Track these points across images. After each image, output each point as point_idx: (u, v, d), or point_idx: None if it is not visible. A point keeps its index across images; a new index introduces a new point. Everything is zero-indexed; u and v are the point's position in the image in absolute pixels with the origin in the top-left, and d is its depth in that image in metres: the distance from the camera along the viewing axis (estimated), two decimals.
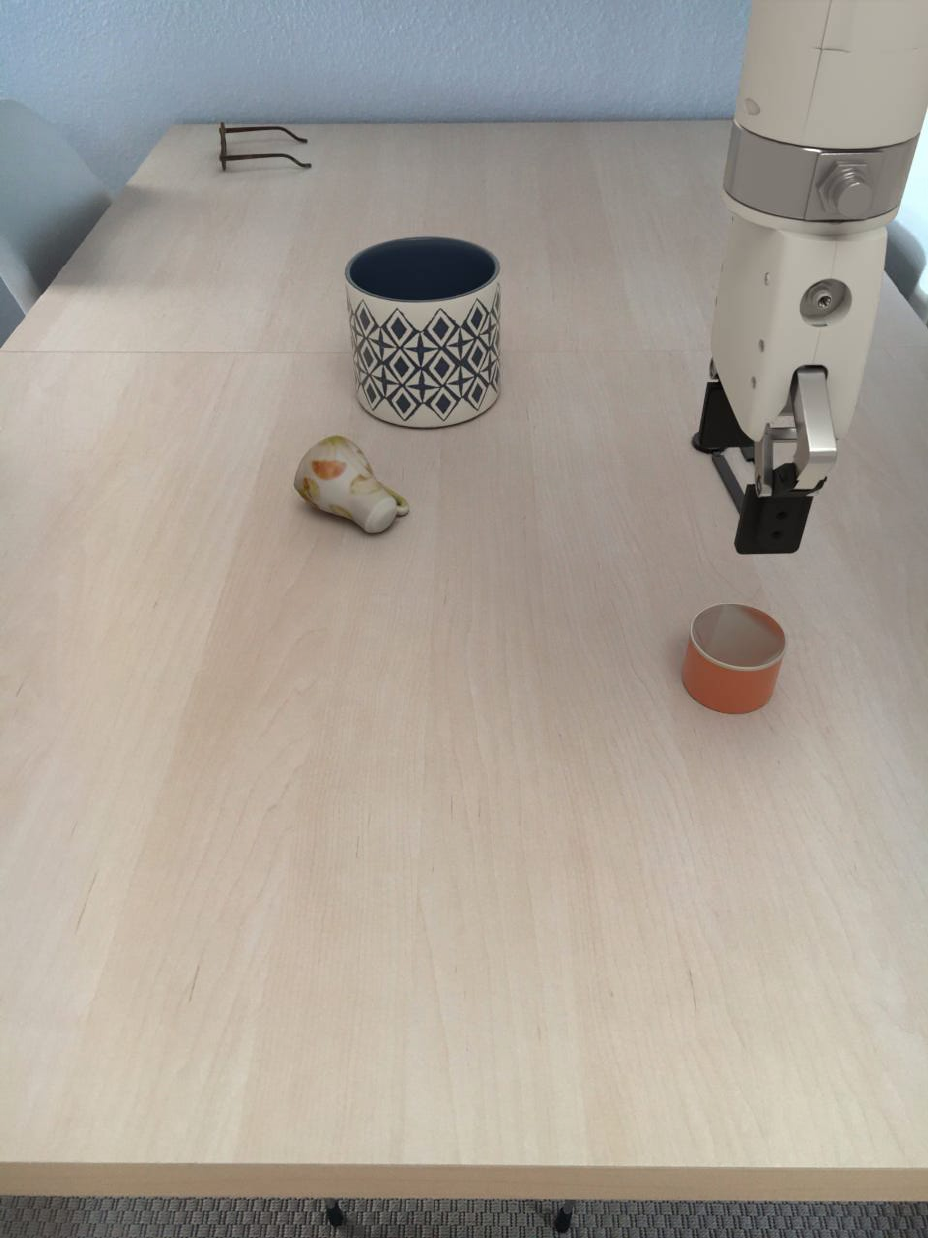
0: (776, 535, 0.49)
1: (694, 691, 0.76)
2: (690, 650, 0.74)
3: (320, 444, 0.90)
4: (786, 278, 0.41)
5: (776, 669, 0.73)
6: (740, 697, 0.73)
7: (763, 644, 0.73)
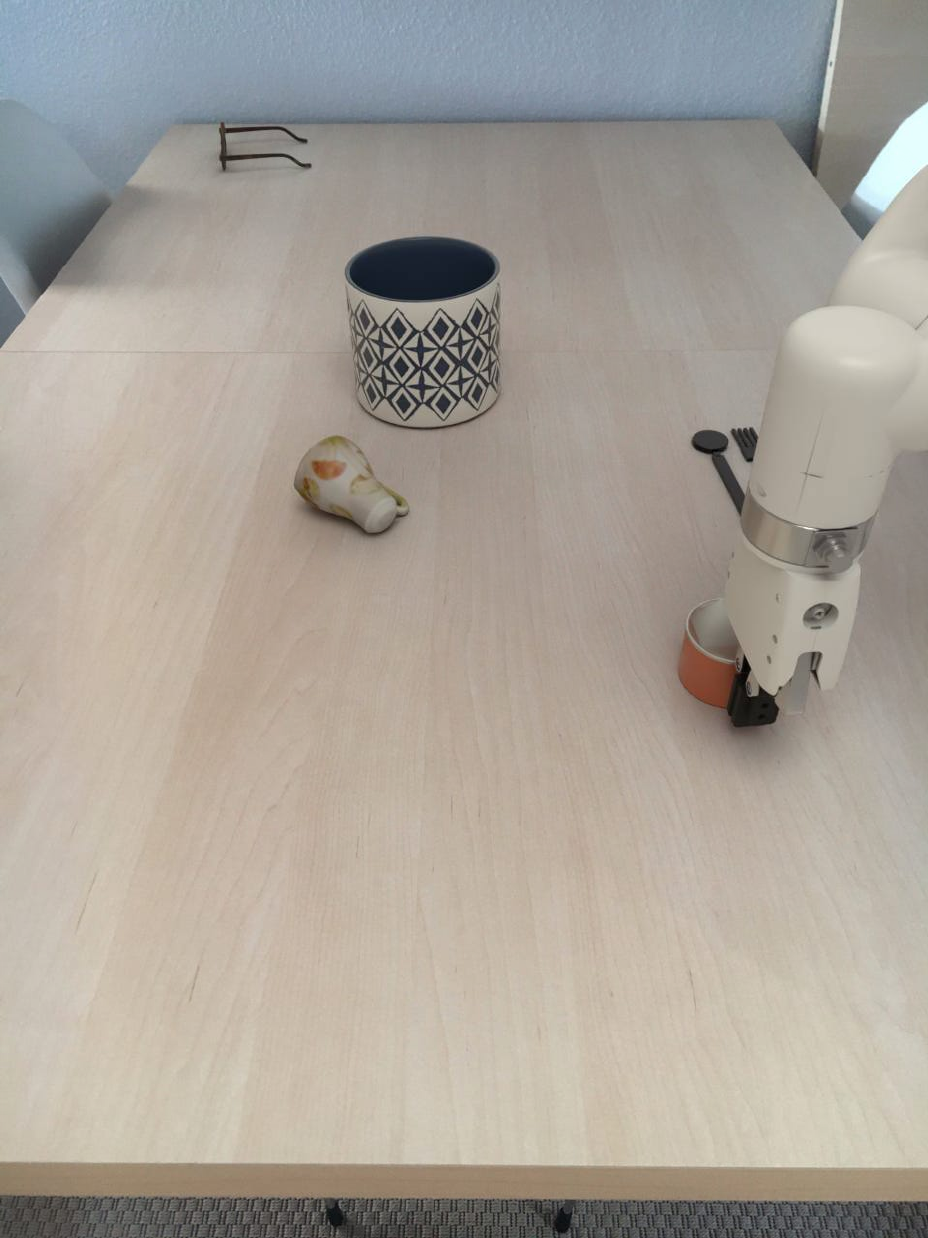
0: (761, 716, 0.70)
1: (689, 685, 0.76)
2: (686, 644, 0.75)
3: (320, 444, 0.90)
4: (793, 602, 0.59)
5: None
6: None
7: None
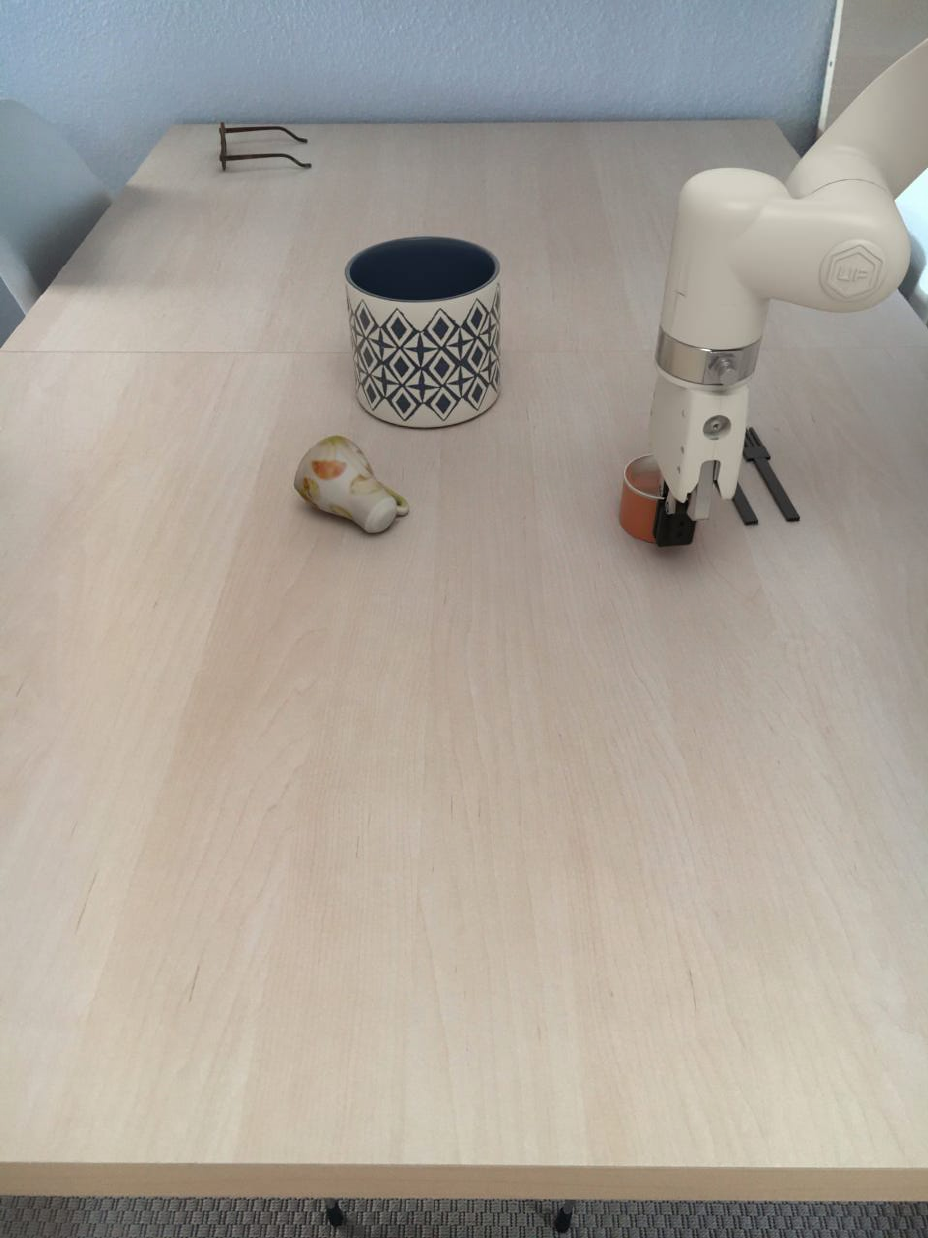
0: (679, 535, 0.85)
1: (624, 522, 0.91)
2: (623, 486, 0.90)
3: (320, 444, 0.90)
4: (694, 415, 0.73)
5: None
6: None
7: None
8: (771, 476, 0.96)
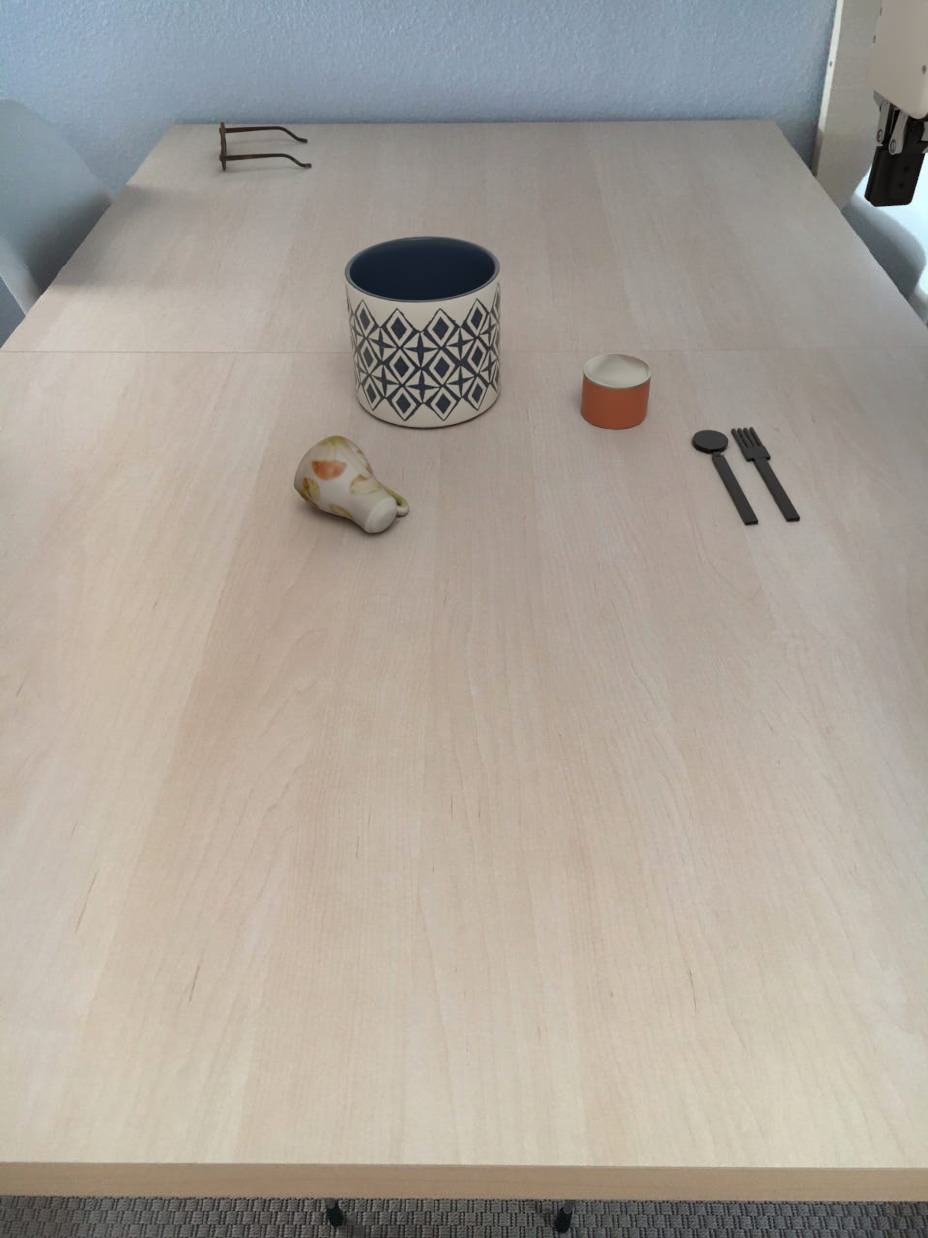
0: (900, 186, 0.75)
1: (585, 412, 1.05)
2: (583, 380, 1.04)
3: (320, 444, 0.90)
4: None
5: (640, 394, 1.02)
6: (613, 413, 1.03)
7: (633, 375, 1.02)
8: (771, 476, 0.96)
